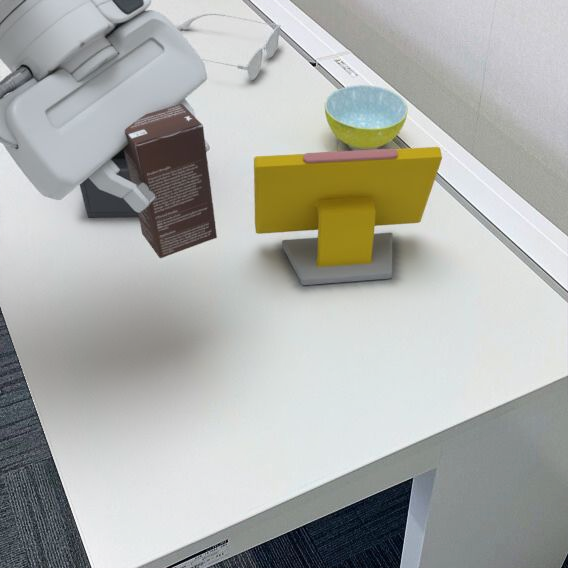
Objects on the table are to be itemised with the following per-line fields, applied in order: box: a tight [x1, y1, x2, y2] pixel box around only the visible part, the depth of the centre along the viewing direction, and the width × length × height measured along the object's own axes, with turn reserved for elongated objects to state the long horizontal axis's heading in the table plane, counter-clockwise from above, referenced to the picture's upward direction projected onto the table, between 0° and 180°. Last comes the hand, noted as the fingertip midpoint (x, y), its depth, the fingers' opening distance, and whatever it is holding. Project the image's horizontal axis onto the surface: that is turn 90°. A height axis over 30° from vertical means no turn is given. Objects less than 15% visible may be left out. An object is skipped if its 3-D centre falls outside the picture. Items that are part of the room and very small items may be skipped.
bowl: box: [324, 84, 409, 151], centre depth 108 cm, size 11×12×6 cm
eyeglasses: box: [179, 13, 282, 81], centre depth 124 cm, size 15×18×4 cm
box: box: [123, 104, 218, 259], centre depth 67 cm, size 6×4×12 cm
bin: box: [79, 149, 139, 218], centre depth 98 cm, size 12×12×7 cm
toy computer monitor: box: [253, 146, 443, 286], centre depth 87 cm, size 20×8×16 cm, turn 100°
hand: (176, 179), depth 67 cm, fingers closed on box, 7 cm apart
